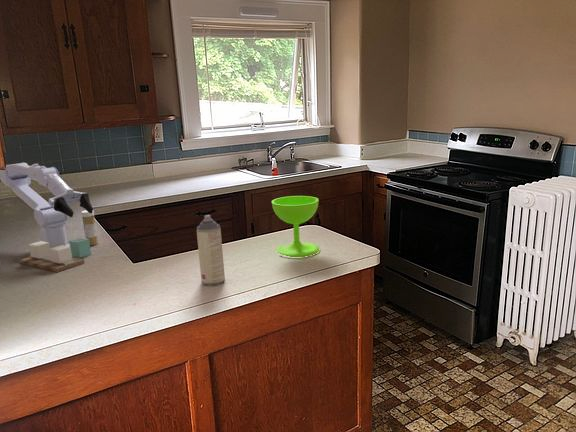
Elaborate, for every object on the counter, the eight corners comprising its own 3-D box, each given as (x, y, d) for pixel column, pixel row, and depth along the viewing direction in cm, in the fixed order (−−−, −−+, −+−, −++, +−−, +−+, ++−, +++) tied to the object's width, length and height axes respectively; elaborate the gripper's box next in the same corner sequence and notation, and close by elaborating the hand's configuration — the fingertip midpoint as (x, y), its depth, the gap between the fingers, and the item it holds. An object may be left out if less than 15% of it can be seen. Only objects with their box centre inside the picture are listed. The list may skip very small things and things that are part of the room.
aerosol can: (214, 275, 142) (209, 211, 137) (229, 280, 138) (224, 214, 133) (196, 282, 137) (190, 216, 133) (211, 287, 133) (205, 219, 128)
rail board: (20, 262, 164) (20, 259, 163) (47, 254, 172) (47, 251, 172) (57, 272, 152) (56, 268, 152) (84, 262, 160) (84, 259, 160)
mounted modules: (31, 256, 164) (28, 244, 163) (43, 252, 168) (41, 241, 167) (60, 263, 155) (58, 250, 154) (72, 259, 159) (70, 246, 158)
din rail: (29, 257, 166) (29, 255, 166) (39, 254, 169) (39, 252, 169) (65, 265, 155) (64, 263, 155) (74, 262, 158) (74, 260, 158)
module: (71, 256, 169) (69, 240, 167) (82, 252, 172) (80, 237, 171) (80, 258, 166) (77, 241, 165) (91, 254, 170) (88, 238, 168)
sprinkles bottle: (88, 242, 185) (83, 210, 182) (100, 242, 185) (95, 209, 182) (84, 246, 180) (79, 212, 177) (96, 245, 181) (91, 211, 178)
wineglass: (265, 251, 163) (262, 201, 159) (299, 241, 173) (297, 194, 169) (294, 262, 151) (292, 207, 147) (329, 250, 161) (328, 199, 157)
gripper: (43, 184, 162) (65, 207, 157) (81, 179, 174) (102, 200, 169) (40, 200, 165) (61, 223, 160) (77, 194, 177) (98, 215, 172)
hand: (82, 213), depth 165 cm, fingers open, 7 cm apart
